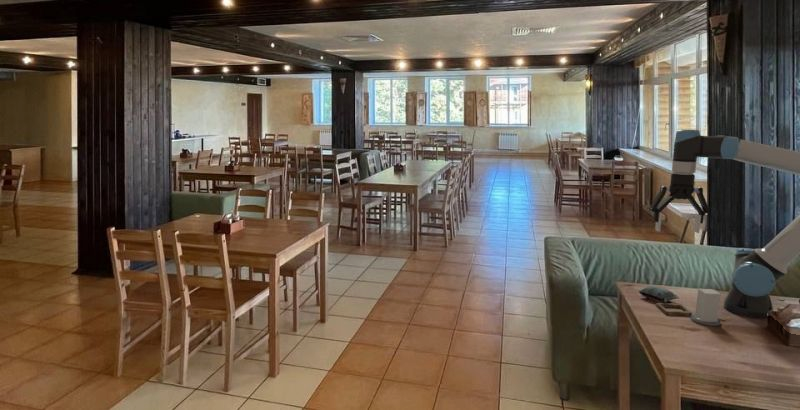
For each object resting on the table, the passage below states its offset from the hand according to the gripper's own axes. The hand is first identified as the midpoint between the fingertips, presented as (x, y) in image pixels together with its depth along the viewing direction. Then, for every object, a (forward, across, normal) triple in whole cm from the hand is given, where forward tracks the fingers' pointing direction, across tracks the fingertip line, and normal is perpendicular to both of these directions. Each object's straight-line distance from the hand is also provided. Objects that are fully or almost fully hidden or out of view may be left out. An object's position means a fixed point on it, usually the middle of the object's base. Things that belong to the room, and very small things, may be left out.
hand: (676, 231), depth 193 cm
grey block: (+28, -7, +13) cm, 32 cm away
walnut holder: (+29, 0, +4) cm, 29 cm away
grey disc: (+29, -7, +13) cm, 32 cm away
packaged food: (+29, +1, -8) cm, 30 cm away
